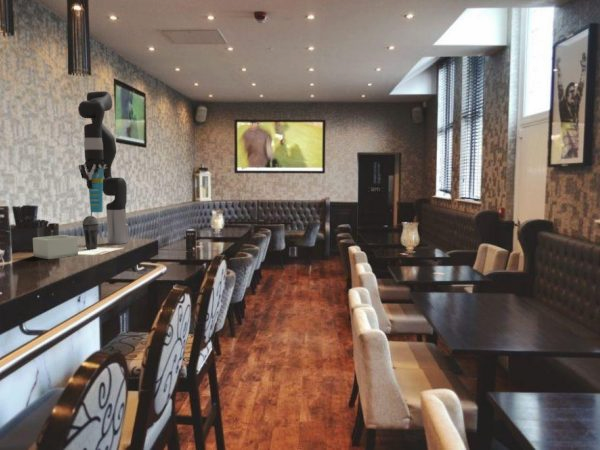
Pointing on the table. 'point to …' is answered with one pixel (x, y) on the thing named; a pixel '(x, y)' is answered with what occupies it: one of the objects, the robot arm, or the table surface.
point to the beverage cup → (90, 232)
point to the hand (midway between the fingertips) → (95, 188)
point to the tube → (96, 191)
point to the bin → (55, 246)
